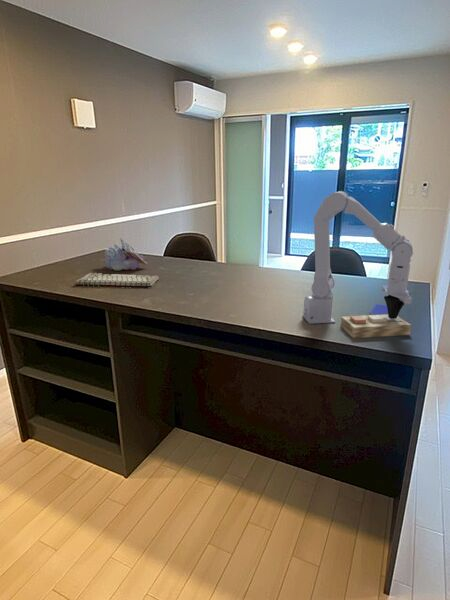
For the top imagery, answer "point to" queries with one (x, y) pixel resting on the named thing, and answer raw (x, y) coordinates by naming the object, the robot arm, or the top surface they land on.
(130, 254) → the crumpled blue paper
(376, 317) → the white key
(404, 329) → the key panel
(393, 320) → the slate key
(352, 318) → the terracotta key
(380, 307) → the hard drive
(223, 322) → the top surface
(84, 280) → the mechanical keyboard
